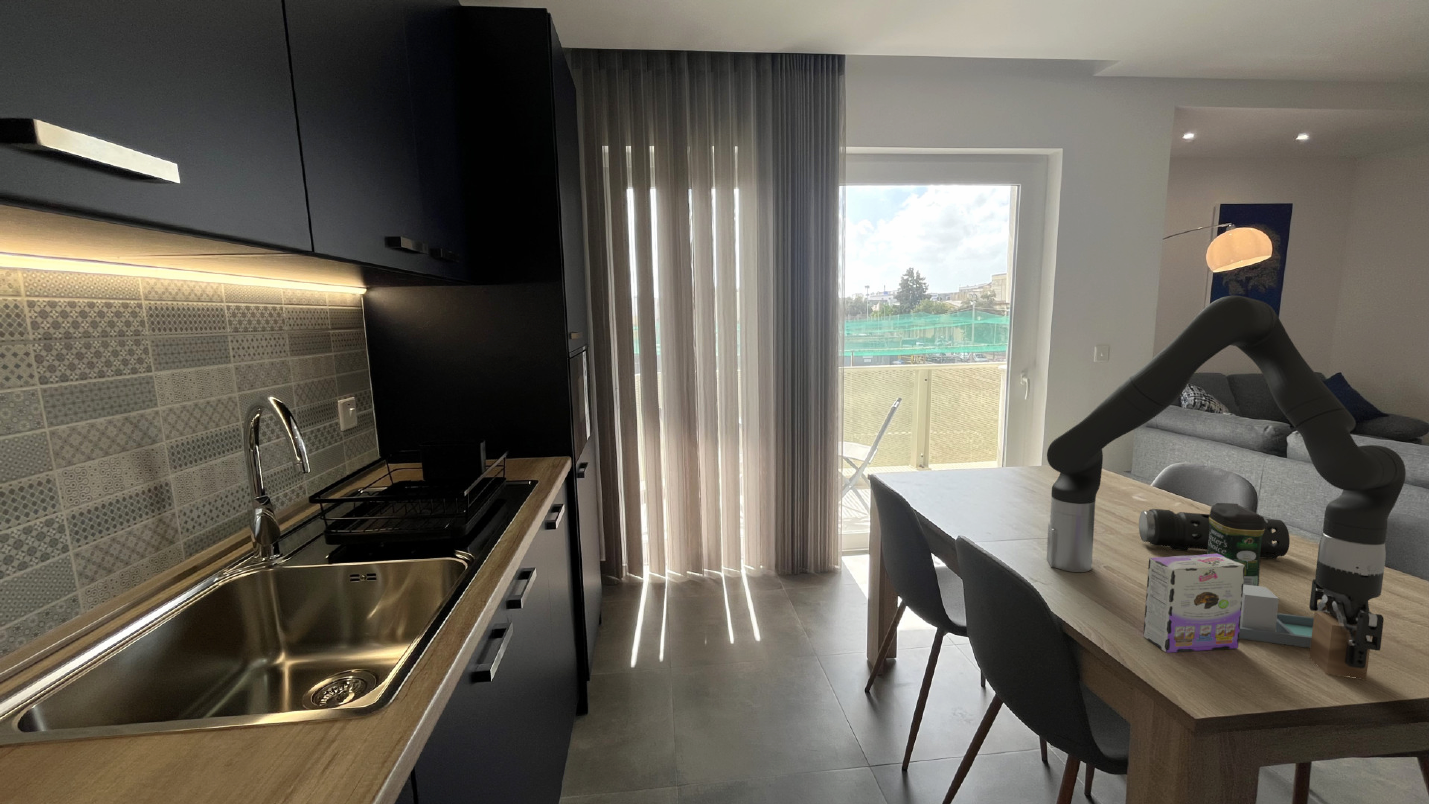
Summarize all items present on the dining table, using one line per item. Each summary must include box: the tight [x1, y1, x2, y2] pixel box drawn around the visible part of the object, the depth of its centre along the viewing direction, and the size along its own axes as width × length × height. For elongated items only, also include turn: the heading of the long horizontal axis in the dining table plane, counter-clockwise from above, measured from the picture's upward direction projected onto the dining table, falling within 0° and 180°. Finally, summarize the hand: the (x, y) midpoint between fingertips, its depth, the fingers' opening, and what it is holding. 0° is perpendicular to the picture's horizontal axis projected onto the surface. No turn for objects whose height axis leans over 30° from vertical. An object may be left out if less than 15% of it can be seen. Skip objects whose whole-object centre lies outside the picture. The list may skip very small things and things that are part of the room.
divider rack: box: [1239, 584, 1314, 649], centre depth 109 cm, size 18×9×8 cm, turn 68°
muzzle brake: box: [1138, 508, 1291, 560], centre depth 147 cm, size 10×28×10 cm, turn 67°
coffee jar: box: [1206, 502, 1265, 586], centre depth 128 cm, size 10×8×19 cm
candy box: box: [1143, 554, 1245, 654], centre depth 107 cm, size 14×6×16 cm, turn 92°
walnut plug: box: [1308, 611, 1372, 680], centre depth 98 cm, size 5×5×9 cm
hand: (1339, 653), depth 98 cm, fingers open, 7 cm apart
